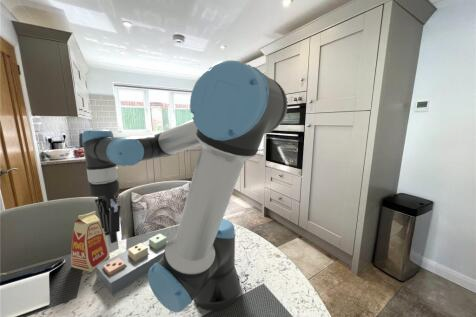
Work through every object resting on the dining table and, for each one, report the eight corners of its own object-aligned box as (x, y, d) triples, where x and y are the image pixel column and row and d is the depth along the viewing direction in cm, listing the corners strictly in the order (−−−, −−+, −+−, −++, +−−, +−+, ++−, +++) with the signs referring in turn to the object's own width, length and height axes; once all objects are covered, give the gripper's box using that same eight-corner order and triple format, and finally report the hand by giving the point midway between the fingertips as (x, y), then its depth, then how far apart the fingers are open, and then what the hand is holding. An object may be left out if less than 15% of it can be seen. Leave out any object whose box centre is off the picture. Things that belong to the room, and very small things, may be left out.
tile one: (167, 244, 78) (166, 236, 78) (156, 250, 75) (155, 242, 74) (160, 239, 81) (159, 232, 81) (149, 245, 77) (148, 238, 77)
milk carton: (91, 271, 69) (83, 219, 66) (70, 267, 71) (61, 217, 67) (112, 254, 78) (106, 208, 74) (93, 251, 80) (86, 206, 76)
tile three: (126, 271, 66) (125, 262, 65) (110, 280, 62) (109, 271, 61) (119, 265, 69) (118, 257, 68) (104, 273, 65) (103, 265, 64)
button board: (175, 255, 78) (174, 245, 77) (112, 295, 60) (110, 283, 59) (158, 244, 85) (157, 235, 84) (97, 277, 66) (95, 266, 66)
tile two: (148, 254, 72) (147, 246, 71) (135, 262, 68) (134, 253, 68) (141, 249, 75) (140, 242, 74) (128, 256, 71) (127, 248, 70)
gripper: (126, 181, 59) (134, 251, 63) (108, 175, 66) (116, 238, 70) (98, 187, 53) (109, 264, 57) (81, 180, 60) (92, 248, 64)
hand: (113, 249), depth 64 cm, fingers closed
